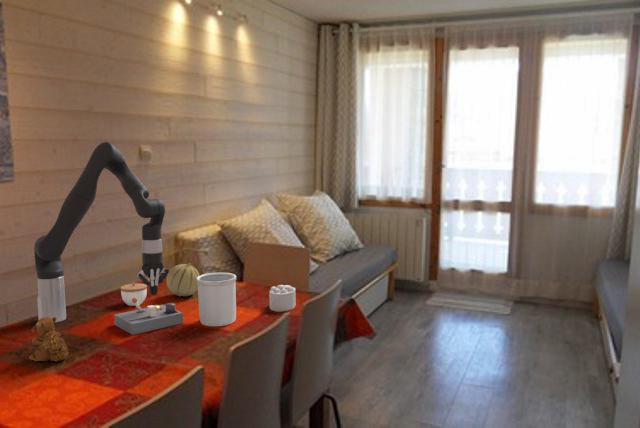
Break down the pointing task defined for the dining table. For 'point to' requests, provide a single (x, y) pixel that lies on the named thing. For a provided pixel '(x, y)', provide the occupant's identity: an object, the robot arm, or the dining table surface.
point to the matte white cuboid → (151, 311)
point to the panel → (147, 320)
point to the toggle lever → (136, 304)
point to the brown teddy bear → (48, 342)
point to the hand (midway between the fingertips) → (153, 294)
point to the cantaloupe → (183, 280)
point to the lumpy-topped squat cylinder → (282, 298)
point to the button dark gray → (170, 307)
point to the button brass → (157, 307)
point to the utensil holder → (217, 298)
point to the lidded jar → (133, 293)
